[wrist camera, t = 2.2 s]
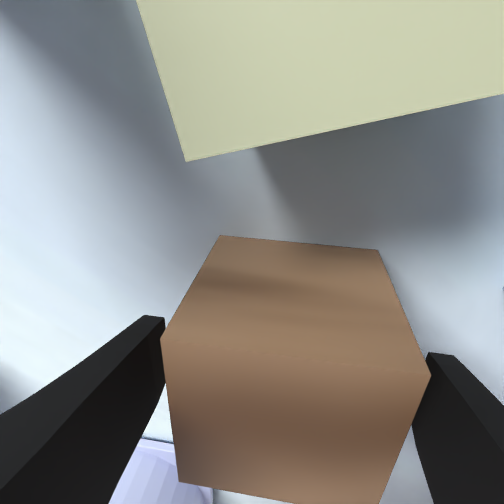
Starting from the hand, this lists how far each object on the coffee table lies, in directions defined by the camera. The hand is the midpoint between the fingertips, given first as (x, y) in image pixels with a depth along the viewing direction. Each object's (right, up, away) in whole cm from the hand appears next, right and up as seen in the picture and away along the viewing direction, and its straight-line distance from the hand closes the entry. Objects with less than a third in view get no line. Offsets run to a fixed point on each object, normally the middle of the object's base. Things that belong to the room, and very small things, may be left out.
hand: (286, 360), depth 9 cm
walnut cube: (0, +1, +3) cm, 3 cm away
